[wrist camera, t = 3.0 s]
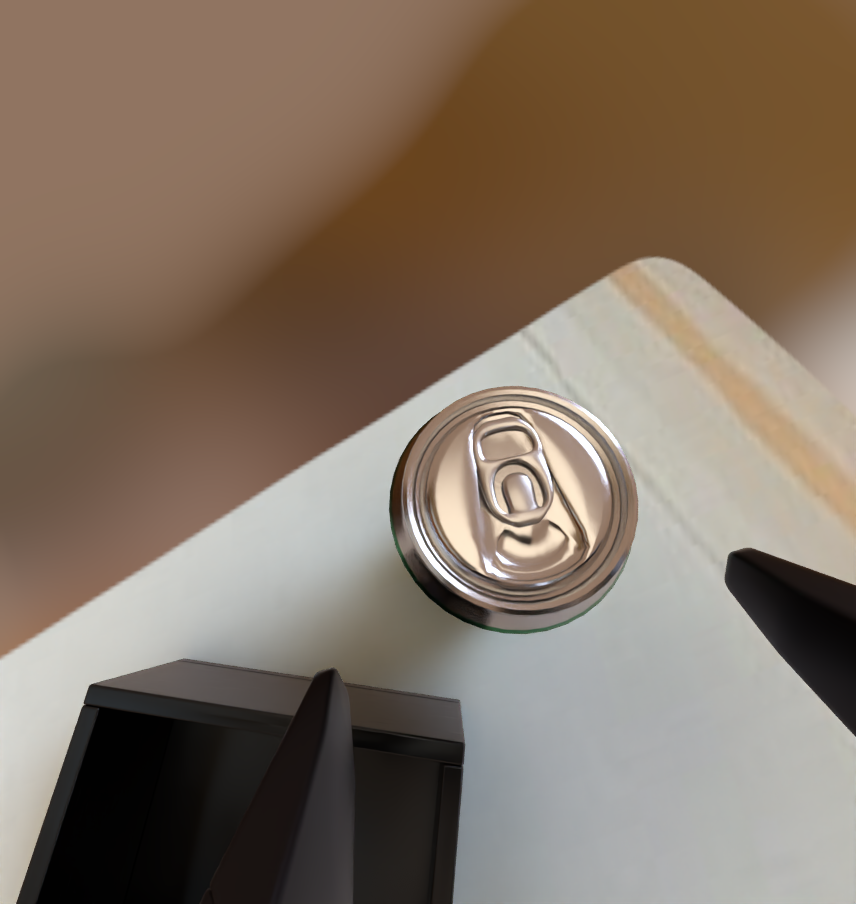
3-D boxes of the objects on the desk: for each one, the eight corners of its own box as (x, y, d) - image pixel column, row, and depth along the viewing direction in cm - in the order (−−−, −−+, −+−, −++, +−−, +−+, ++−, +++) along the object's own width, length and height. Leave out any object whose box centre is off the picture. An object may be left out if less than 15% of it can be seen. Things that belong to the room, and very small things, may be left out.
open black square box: (427, 1081, 13) (417, 1349, 9) (87, 1004, 14) (-89, 1208, 10) (460, 699, 17) (465, 743, 12) (183, 658, 18) (88, 684, 13)
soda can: (433, 618, 18) (410, 673, 7) (410, 507, 20) (360, 397, 8) (544, 592, 18) (711, 603, 7) (513, 484, 20) (603, 345, 8)
